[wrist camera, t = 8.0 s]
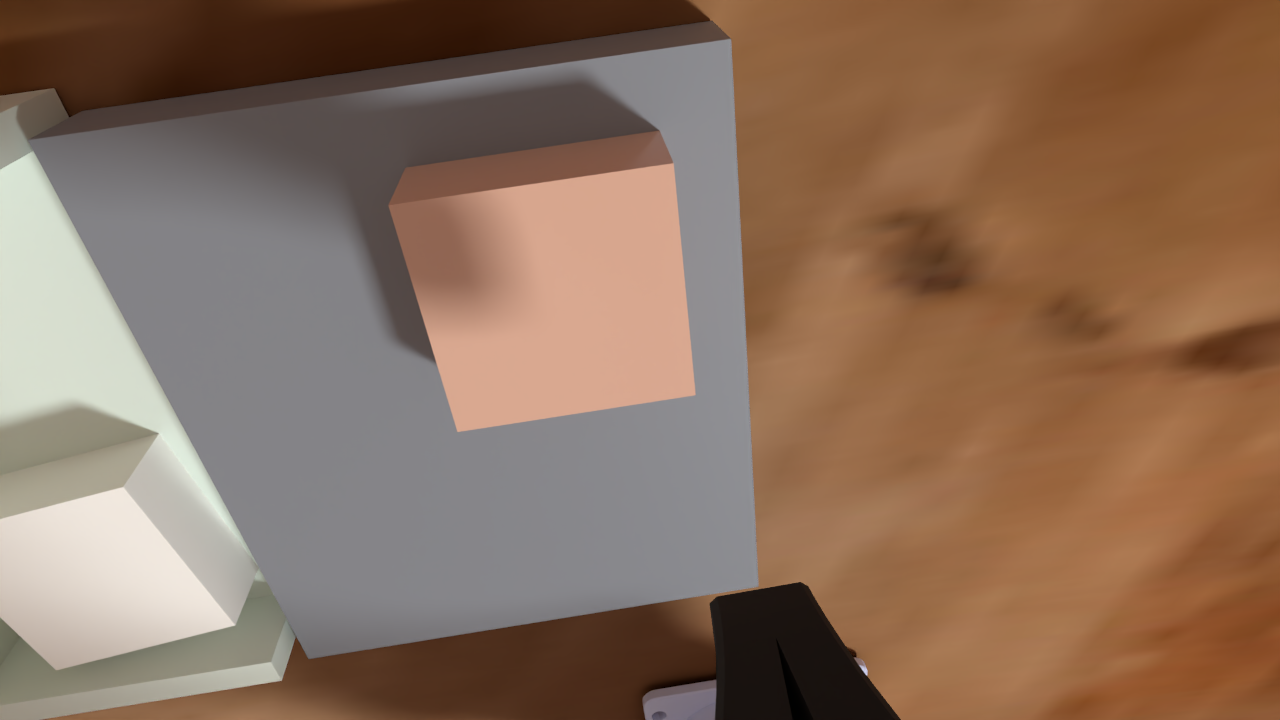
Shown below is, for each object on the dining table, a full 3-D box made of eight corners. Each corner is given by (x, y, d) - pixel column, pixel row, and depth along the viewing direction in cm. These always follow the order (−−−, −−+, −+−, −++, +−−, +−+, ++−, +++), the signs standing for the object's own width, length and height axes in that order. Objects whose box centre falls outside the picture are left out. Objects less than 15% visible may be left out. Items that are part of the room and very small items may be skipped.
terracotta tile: (681, 346, 18) (695, 395, 16) (465, 378, 18) (457, 431, 16) (659, 130, 15) (673, 163, 14) (405, 168, 15) (388, 205, 14)
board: (743, 536, 24) (758, 586, 23) (325, 603, 24) (308, 659, 22) (711, 20, 16) (730, 38, 15) (81, 110, 16) (27, 139, 14)
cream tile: (258, 567, 22) (235, 625, 21) (92, 610, 23) (56, 670, 21) (159, 433, 20) (123, 486, 18) (-29, 482, 20) (-82, 540, 18)
